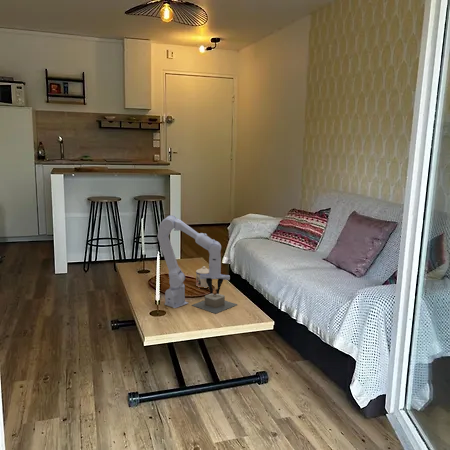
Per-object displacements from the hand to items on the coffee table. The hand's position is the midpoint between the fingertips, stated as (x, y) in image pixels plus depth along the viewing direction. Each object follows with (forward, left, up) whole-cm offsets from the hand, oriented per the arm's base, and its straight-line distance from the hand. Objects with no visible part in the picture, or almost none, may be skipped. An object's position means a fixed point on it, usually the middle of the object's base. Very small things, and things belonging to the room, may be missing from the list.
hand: (214, 293), depth 223 cm
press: (0, 0, -6) cm, 6 cm away
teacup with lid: (+17, +23, -6) cm, 29 cm away
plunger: (0, 0, -4) cm, 4 cm away
